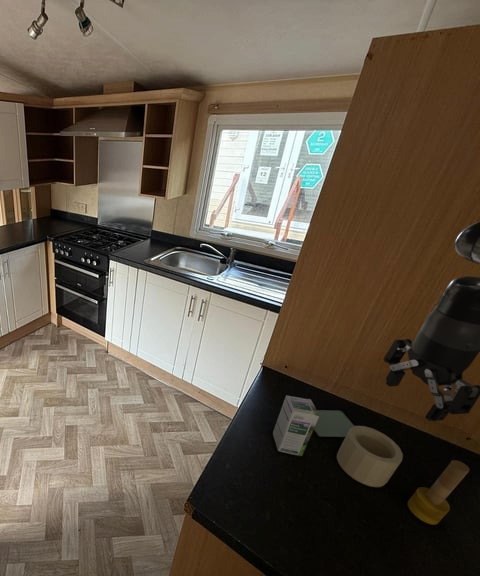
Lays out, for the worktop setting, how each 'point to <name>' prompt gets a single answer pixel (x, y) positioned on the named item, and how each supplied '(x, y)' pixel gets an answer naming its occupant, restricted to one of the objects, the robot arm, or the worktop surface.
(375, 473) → the cream tape roll
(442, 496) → the sponge brush
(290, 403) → the syrup box
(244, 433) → the worktop surface
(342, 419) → the grey hexagonal plate
